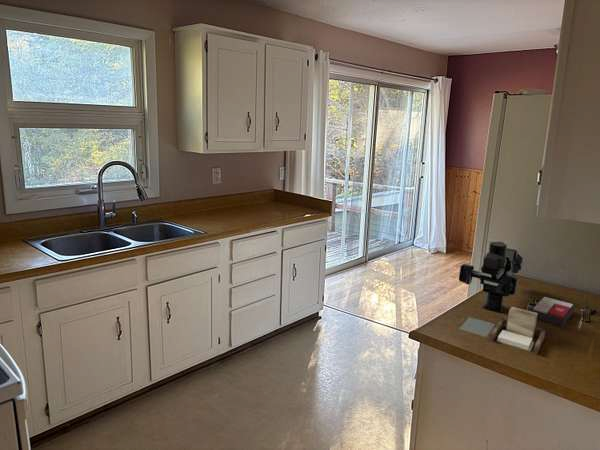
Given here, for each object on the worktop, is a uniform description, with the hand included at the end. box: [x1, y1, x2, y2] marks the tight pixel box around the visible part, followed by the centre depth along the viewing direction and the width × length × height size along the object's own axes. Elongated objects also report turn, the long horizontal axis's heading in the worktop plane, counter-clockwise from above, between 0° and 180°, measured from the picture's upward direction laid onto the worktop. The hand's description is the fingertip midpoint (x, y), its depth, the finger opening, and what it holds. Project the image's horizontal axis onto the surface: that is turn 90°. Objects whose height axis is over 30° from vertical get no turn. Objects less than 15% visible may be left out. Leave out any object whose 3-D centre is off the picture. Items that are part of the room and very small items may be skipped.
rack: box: [489, 318, 547, 356], centre depth 151 cm, size 15×14×3 cm
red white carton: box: [530, 296, 575, 326], centre depth 172 cm, size 11×4×15 cm
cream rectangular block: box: [505, 306, 538, 339], centre depth 153 cm, size 4×8×9 cm, turn 54°
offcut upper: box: [496, 329, 534, 351], centre depth 149 cm, size 6×9×1 cm
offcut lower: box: [497, 341, 536, 352], centre depth 149 cm, size 7×10×1 cm
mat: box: [459, 316, 496, 338], centre depth 159 cm, size 12×9×1 cm
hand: (480, 286), depth 152 cm, fingers open, 9 cm apart
